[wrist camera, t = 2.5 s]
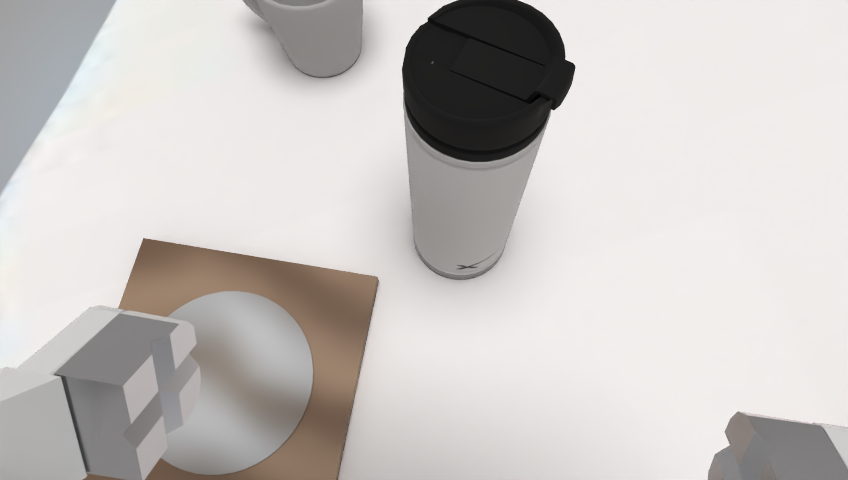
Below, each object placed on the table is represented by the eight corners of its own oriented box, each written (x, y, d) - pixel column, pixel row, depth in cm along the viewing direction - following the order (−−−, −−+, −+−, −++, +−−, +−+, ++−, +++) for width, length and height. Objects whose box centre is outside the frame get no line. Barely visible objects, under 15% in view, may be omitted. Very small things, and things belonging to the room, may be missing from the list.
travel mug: (485, 298, 39) (534, 151, 20) (397, 254, 40) (367, 76, 21) (524, 221, 41) (604, 20, 22) (440, 180, 42) (447, -43, 23)
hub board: (323, 544, 34) (319, 547, 33) (62, 492, 35) (48, 493, 34) (378, 281, 40) (376, 275, 38) (150, 243, 41) (141, 236, 39)
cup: (351, 101, 44) (334, 23, 36) (231, 63, 46) (189, -20, 38) (388, 24, 47) (379, -66, 39) (274, -10, 48) (242, -103, 40)
